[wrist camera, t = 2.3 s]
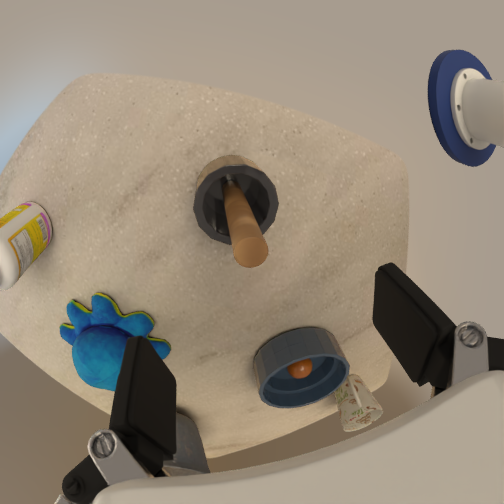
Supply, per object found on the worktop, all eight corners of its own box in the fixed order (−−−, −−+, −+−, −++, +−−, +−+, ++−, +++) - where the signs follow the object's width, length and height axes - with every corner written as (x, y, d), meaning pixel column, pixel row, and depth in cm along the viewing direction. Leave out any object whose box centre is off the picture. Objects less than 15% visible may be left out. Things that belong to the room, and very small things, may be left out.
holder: (256, 147, 27) (268, 154, 21) (271, 211, 30) (284, 233, 25) (188, 165, 27) (182, 177, 21) (207, 228, 30) (208, 254, 25)
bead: (307, 346, 41) (314, 364, 37) (309, 360, 43) (316, 378, 39) (282, 353, 41) (288, 372, 37) (286, 367, 43) (292, 386, 39)
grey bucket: (127, 382, 41) (116, 456, 28) (220, 401, 46) (228, 471, 33) (122, 421, 47) (116, 478, 34) (196, 435, 53) (199, 490, 40)
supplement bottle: (11, 229, 25) (-45, 280, 14) (26, 189, 24) (-41, 234, 12) (44, 258, 28) (-5, 320, 17) (61, 221, 27) (3, 280, 15)
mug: (332, 399, 52) (346, 435, 44) (319, 374, 46) (336, 417, 38) (366, 382, 52) (383, 417, 43) (359, 354, 46) (381, 395, 37)
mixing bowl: (335, 313, 39) (351, 340, 34) (336, 366, 46) (347, 391, 41) (243, 341, 39) (249, 372, 34) (262, 389, 46) (268, 415, 41)
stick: (238, 178, 28) (264, 232, 15) (243, 196, 28) (271, 262, 16) (219, 183, 27) (229, 242, 15) (224, 201, 28) (238, 271, 16)
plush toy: (130, 278, 31) (113, 323, 24) (185, 363, 40) (184, 407, 32) (45, 308, 31) (23, 346, 24) (103, 378, 40) (95, 416, 32)
